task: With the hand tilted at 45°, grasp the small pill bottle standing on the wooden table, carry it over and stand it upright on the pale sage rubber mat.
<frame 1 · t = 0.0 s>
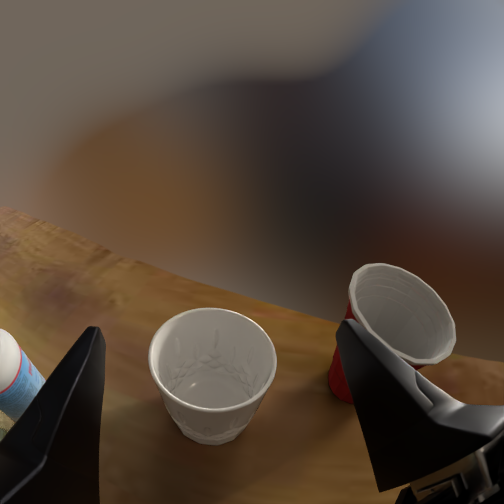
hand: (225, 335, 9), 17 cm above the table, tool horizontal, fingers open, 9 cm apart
white cup: (210, 413, 22), on the table
pill bottle: (34, 405, 17), on the table
plastic cup: (353, 383, 26), on the table
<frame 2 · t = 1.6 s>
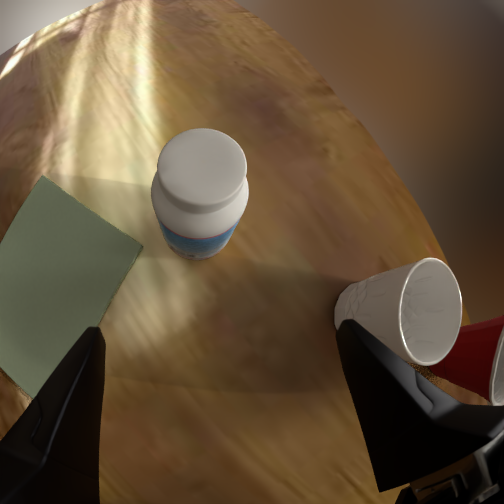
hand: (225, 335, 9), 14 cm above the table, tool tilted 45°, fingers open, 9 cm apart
white cup: (360, 314, 26), on the table
pill bottle: (196, 227, 24), on the table
mat: (37, 293, 19), on the table
plastic cup: (439, 354, 28), on the table
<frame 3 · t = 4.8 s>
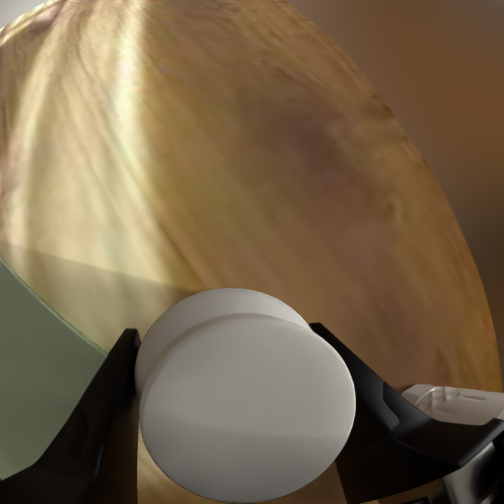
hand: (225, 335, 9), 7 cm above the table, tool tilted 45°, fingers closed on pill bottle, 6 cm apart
white cup: (407, 418, 18), on the table
pill bottle: (212, 344, 16), on the table, touching gripper
mat: (9, 407, 11), on the table
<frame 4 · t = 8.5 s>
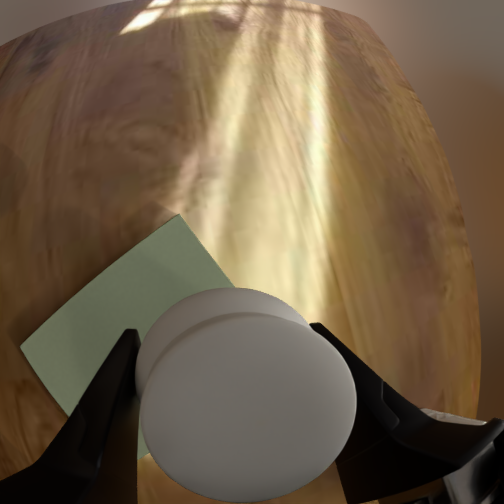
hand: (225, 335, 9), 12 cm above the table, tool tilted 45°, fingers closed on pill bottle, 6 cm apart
white cup: (411, 432, 24), on the table
pill bottle: (212, 343, 16), point 5 cm above the table, touching gripper
mat: (139, 356, 19), on the table
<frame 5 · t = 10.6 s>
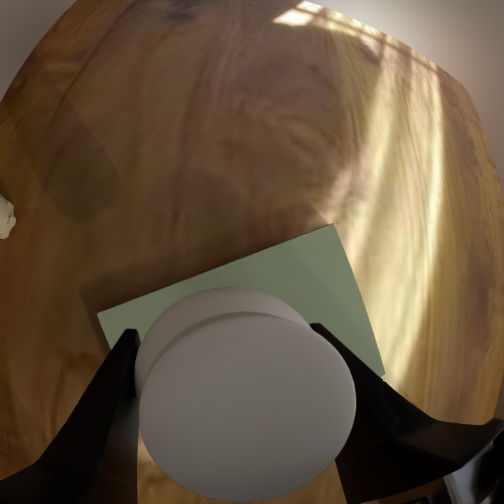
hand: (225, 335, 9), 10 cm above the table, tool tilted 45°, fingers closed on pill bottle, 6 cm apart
handle: (6, 222, 16), on the table
pill bottle: (212, 343, 16), point 3 cm above the table, touching gripper
mat: (257, 356, 19), on the table
when the fingers open (7 cm above the table, at t = 12.0 s): pill bottle stays where it is, resting on mat.
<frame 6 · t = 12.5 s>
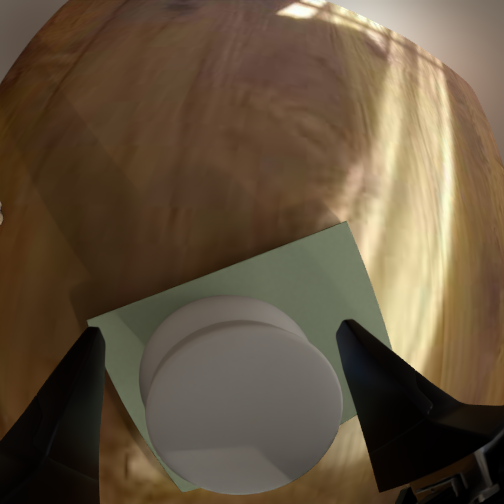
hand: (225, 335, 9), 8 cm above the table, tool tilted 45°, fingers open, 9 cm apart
pill bottle: (212, 345, 16), resting on mat
mat: (264, 367, 17), on the table
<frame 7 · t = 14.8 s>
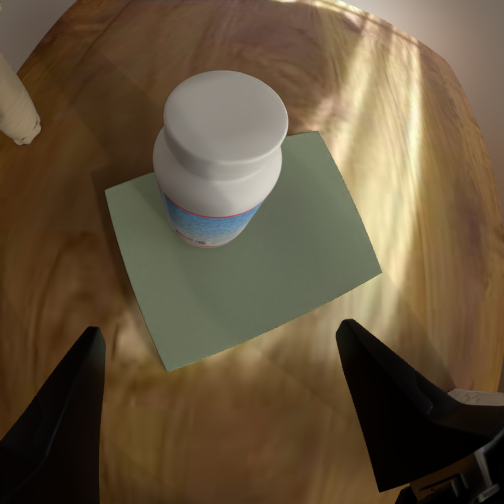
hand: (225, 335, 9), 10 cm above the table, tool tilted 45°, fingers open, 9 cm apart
handle: (30, 133, 18), on the table
white cup: (445, 413, 23), on the table
pill bottle: (207, 208, 20), resting on mat
mat: (251, 234, 21), on the table
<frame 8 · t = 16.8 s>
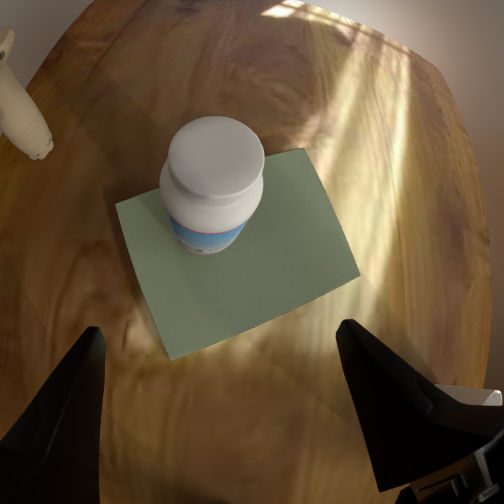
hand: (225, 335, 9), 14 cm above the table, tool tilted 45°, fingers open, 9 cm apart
handle: (43, 149, 21), on the table
white cup: (427, 407, 26), on the table
pill bottle: (204, 220, 23), resting on mat
mat: (243, 242, 24), on the table
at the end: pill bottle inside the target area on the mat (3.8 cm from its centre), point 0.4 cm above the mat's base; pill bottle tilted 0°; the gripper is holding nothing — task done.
